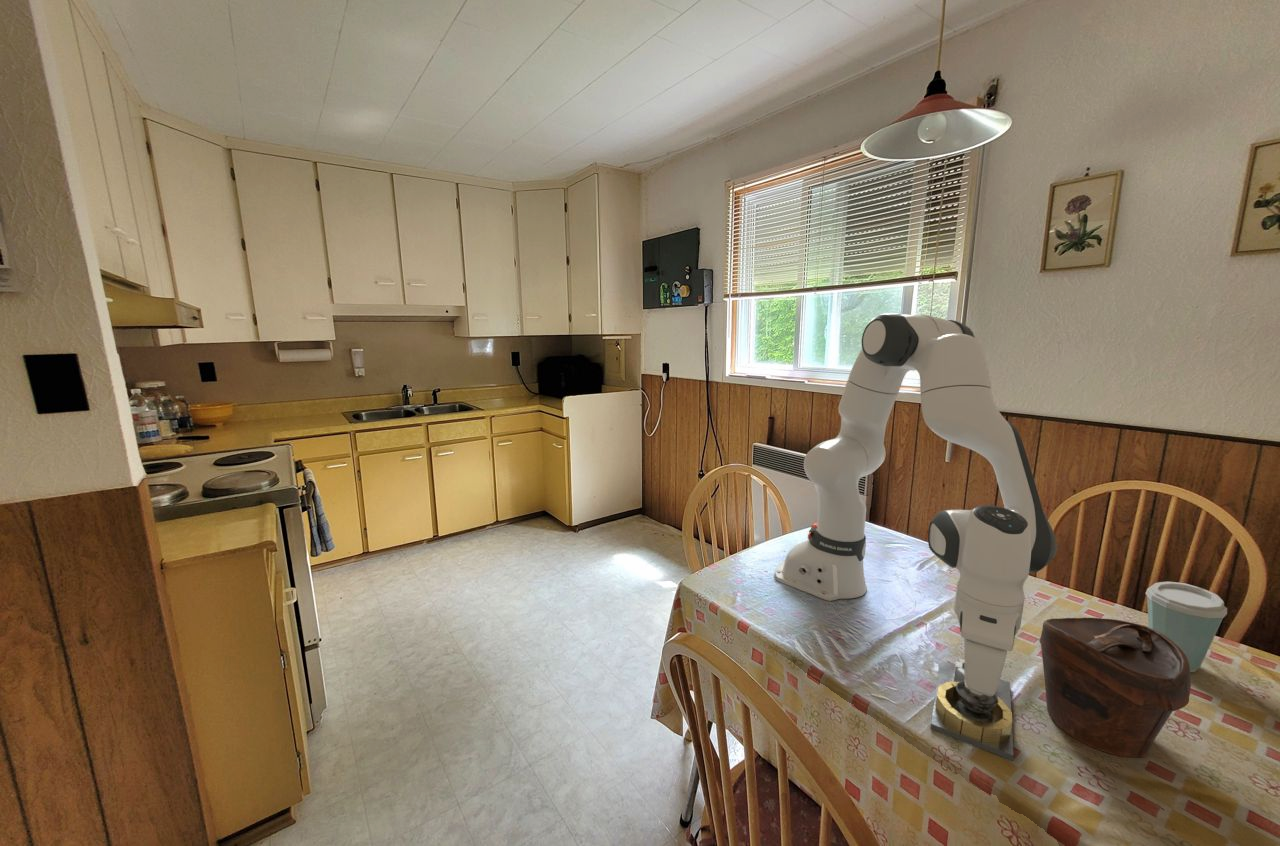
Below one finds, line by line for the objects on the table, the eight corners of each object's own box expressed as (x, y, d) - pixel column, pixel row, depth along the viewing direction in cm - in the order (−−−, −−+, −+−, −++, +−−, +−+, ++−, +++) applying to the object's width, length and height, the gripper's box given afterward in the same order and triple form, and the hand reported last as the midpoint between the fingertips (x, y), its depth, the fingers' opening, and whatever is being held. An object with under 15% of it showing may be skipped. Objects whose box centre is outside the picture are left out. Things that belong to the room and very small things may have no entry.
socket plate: (930, 728, 82) (932, 710, 82) (939, 664, 98) (941, 648, 97) (1012, 760, 76) (1015, 741, 75) (1009, 687, 91) (1011, 670, 91)
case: (1169, 717, 84) (1188, 621, 81) (1184, 801, 70) (1209, 689, 66) (1035, 671, 96) (1047, 586, 92) (1025, 735, 81) (1038, 637, 78)
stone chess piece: (1002, 728, 80) (1013, 662, 78) (962, 723, 81) (971, 658, 79) (984, 701, 86) (994, 639, 83) (947, 696, 87) (955, 635, 84)
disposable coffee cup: (1189, 685, 91) (1206, 611, 88) (1120, 649, 102) (1133, 582, 99) (1226, 674, 94) (1244, 602, 91) (1155, 640, 104) (1170, 574, 101)
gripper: (966, 575, 90) (957, 643, 92) (961, 633, 73) (950, 714, 76) (1009, 585, 86) (999, 655, 89) (1014, 648, 70) (1001, 732, 72)
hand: (976, 683), depth 82 cm, fingers closed on stone chess piece, 3 cm apart
